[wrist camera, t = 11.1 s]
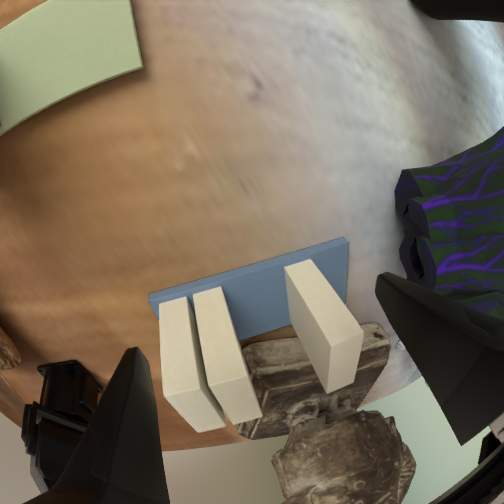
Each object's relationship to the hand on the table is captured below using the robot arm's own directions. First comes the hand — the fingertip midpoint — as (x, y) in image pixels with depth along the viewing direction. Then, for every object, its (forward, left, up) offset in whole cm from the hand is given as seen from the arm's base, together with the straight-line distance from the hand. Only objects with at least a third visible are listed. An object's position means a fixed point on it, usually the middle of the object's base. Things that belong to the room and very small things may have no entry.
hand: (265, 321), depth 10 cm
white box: (+5, -11, -12) cm, 17 cm away
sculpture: (+5, -27, -13) cm, 31 cm away
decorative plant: (+27, -6, -13) cm, 31 cm away
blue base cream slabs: (+1, -11, -13) cm, 17 cm away
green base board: (-12, +14, -13) cm, 22 cm away
